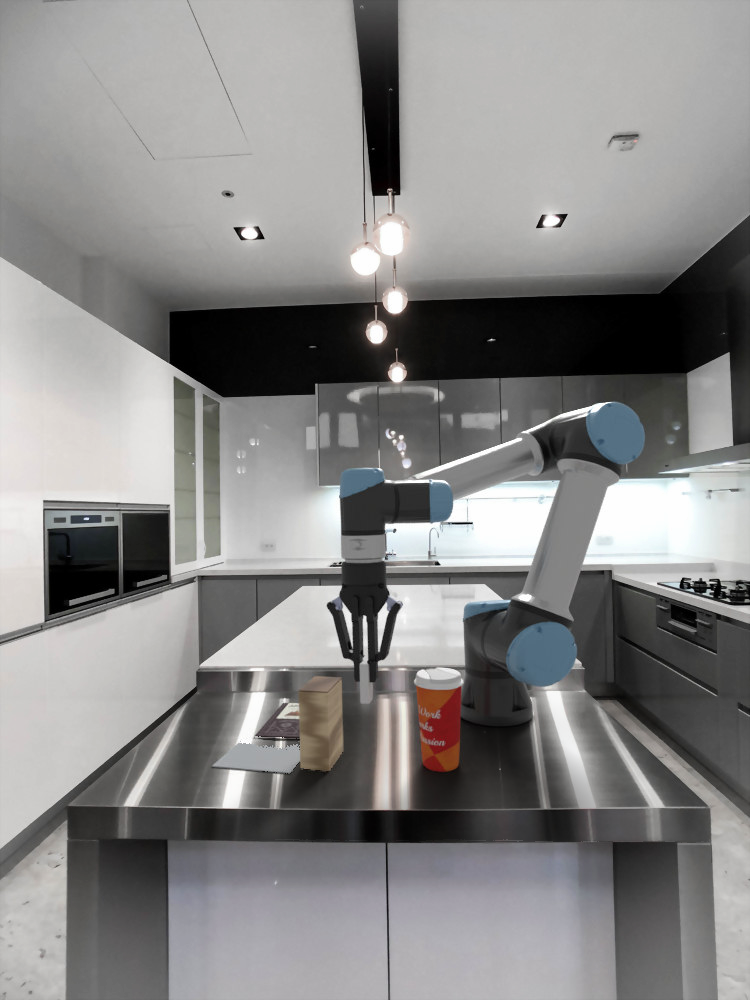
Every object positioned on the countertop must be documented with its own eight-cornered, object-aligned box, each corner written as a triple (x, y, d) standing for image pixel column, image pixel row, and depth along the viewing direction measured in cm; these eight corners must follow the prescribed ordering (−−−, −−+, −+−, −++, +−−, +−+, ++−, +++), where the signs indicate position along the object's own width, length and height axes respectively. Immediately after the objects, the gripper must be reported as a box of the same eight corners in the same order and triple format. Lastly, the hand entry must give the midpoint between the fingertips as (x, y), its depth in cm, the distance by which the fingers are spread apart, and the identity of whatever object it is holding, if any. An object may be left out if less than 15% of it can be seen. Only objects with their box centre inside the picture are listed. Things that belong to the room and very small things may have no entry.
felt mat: (315, 743, 105) (314, 742, 105) (290, 773, 93) (290, 772, 93) (244, 738, 108) (244, 737, 108) (212, 766, 97) (212, 765, 97)
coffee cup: (408, 758, 98) (405, 669, 98) (450, 749, 101) (448, 664, 101) (429, 779, 90) (427, 683, 90) (475, 769, 93) (473, 676, 93)
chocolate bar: (254, 735, 108) (283, 702, 126) (254, 740, 108) (283, 707, 126) (301, 737, 107) (323, 703, 125) (301, 742, 107) (323, 708, 125)
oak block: (343, 751, 102) (341, 677, 102) (329, 771, 94) (327, 691, 94) (316, 749, 103) (314, 676, 103) (300, 769, 95) (298, 690, 95)
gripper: (319, 562, 95) (322, 706, 94) (397, 562, 92) (400, 711, 91) (333, 558, 102) (336, 691, 102) (405, 558, 99) (408, 695, 99)
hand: (366, 700), depth 97 cm, fingers closed
